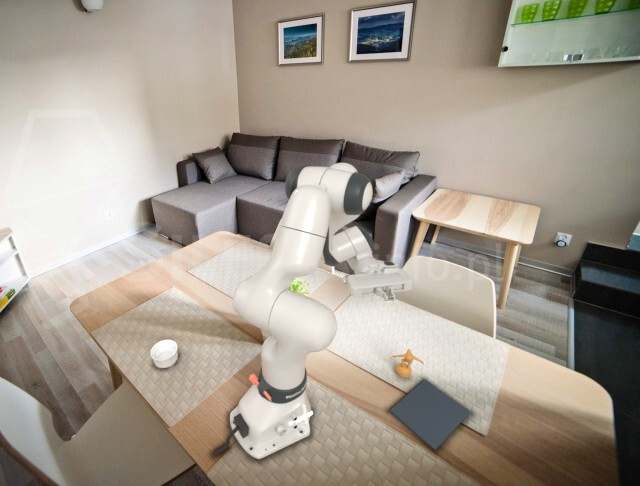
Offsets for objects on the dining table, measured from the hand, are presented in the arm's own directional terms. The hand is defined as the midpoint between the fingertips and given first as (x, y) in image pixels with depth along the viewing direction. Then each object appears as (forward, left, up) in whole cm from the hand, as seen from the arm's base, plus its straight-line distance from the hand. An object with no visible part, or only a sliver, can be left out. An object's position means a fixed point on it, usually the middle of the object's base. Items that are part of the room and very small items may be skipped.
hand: (390, 298), depth 98 cm
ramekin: (-61, +38, -19) cm, 74 cm away
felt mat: (-10, -21, -19) cm, 30 cm away
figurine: (-6, -11, -19) cm, 23 cm away
